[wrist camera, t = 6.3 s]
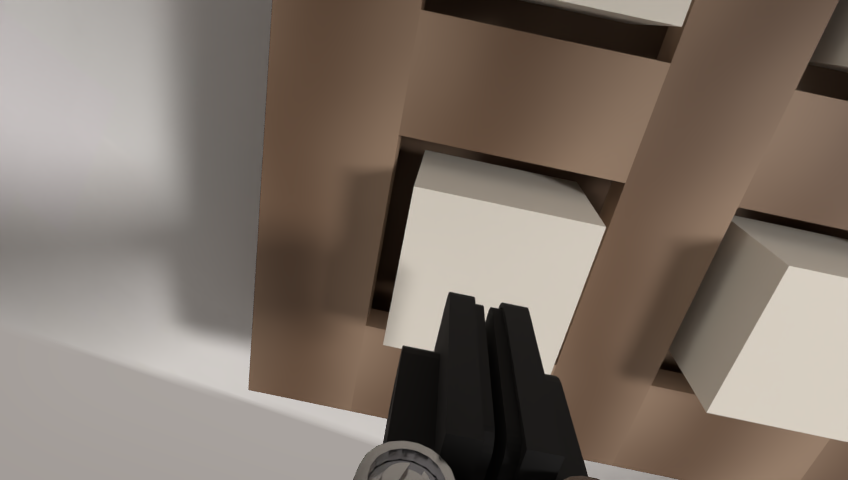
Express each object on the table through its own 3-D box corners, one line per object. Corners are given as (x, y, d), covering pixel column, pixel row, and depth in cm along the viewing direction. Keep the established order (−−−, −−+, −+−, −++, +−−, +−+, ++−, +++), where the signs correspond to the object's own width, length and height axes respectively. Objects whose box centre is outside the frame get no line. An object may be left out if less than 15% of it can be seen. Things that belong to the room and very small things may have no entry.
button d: (871, 244, 15) (979, 305, 12) (795, 365, 17) (870, 447, 14) (720, 212, 15) (789, 265, 12) (661, 337, 17) (706, 412, 14)
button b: (576, 182, 15) (606, 227, 12) (533, 310, 17) (548, 379, 14) (425, 149, 15) (413, 186, 12) (398, 282, 17) (383, 344, 14)
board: (1297, -266, 12) (1674, -392, 8) (812, 433, 21) (885, 522, 17) (363, -471, 11) (315, -696, 8) (287, 323, 21) (248, 389, 17)
